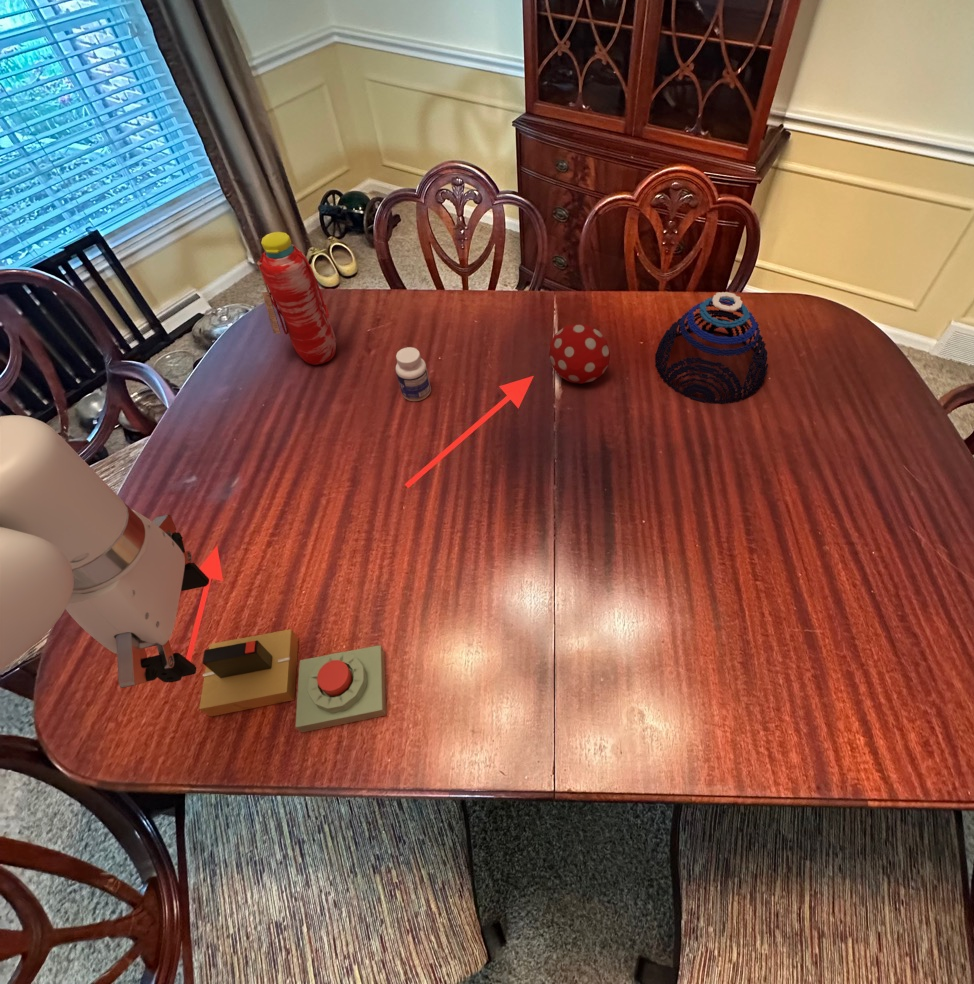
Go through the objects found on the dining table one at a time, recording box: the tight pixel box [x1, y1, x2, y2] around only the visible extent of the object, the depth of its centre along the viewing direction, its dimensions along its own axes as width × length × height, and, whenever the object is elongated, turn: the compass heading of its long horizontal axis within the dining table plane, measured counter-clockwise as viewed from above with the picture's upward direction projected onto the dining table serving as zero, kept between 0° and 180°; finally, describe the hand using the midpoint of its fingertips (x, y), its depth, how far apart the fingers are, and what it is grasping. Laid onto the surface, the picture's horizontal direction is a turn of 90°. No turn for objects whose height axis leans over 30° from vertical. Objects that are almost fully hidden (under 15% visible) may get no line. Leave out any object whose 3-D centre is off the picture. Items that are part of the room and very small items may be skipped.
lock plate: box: [198, 628, 300, 718], centre depth 74 cm, size 10×8×3 cm
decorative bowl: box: [654, 291, 769, 405], centre depth 106 cm, size 20×20×14 cm
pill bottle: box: [395, 346, 432, 402], centre depth 105 cm, size 5×5×9 cm
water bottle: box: [256, 231, 337, 366], centre depth 105 cm, size 12×8×25 cm, turn 86°
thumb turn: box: [201, 640, 272, 678], centre depth 71 cm, size 6×2×5 cm, turn 101°
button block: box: [294, 644, 387, 734], centre depth 73 cm, size 10×8×4 cm
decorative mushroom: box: [548, 323, 611, 385], centre depth 109 cm, size 11×11×15 cm
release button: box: [317, 660, 352, 696], centre depth 71 cm, size 4×4×2 cm
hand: (187, 627), depth 62 cm, fingers open, 9 cm apart
